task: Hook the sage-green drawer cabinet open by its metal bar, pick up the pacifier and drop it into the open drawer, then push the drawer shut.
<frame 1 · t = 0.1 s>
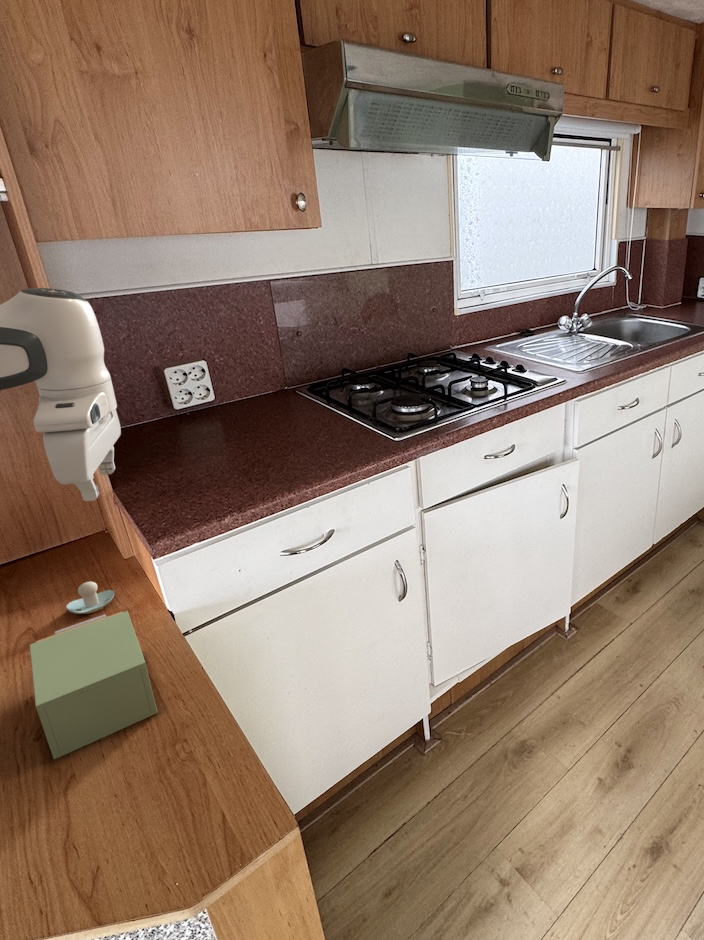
hand: (100, 485, 90), 30 cm above the counter, tool pointing down, fingers open, 8 cm apart
cabinet: (100, 703, 88), on the counter
pacifier: (93, 607, 109), on the counter
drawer: (89, 660, 90), point 5 cm above the counter, slide at 0.5 cm
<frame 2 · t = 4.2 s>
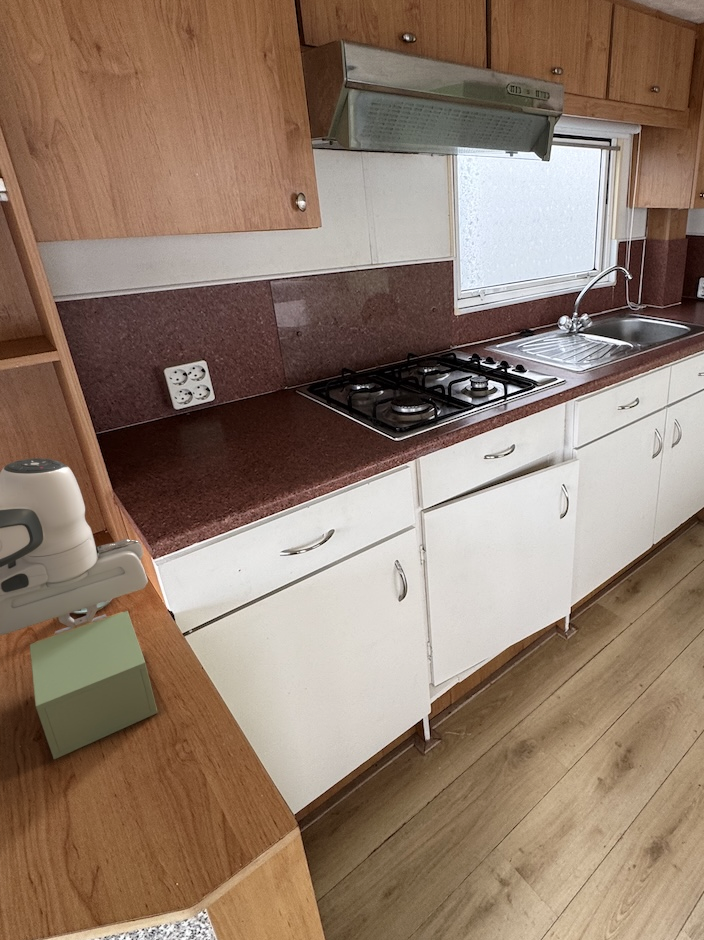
hand: (83, 629, 94), 6 cm above the counter, tool pointing down, fingers closed
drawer: (89, 660, 90), point 5 cm above the counter, slide at 0.5 cm, touching gripper
everything else where it was.
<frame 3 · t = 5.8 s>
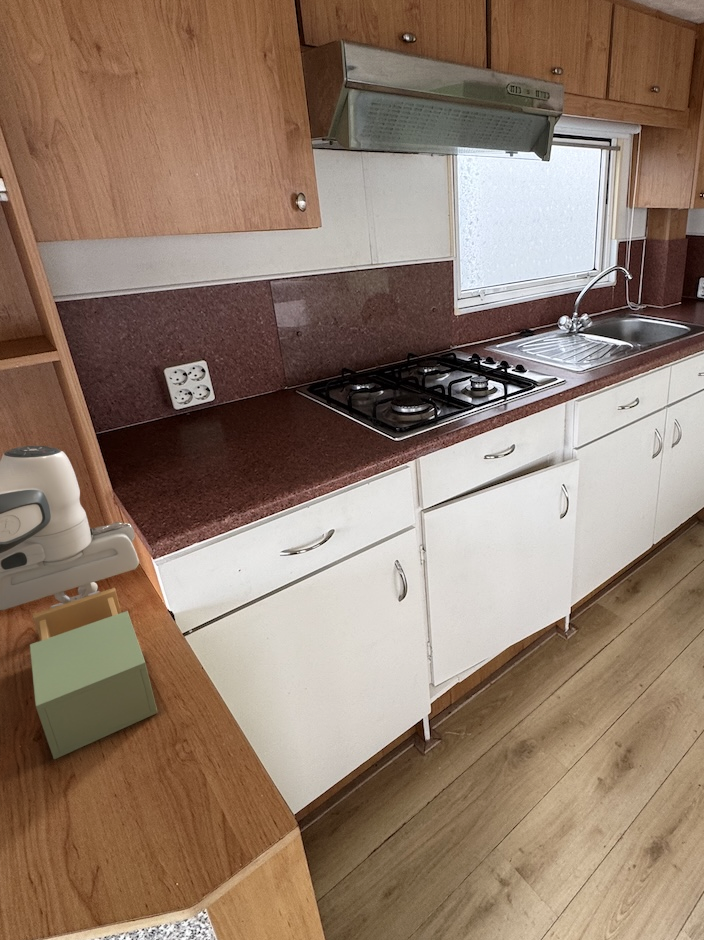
hand: (78, 607, 100), 6 cm above the counter, tool pointing down, fingers closed, pressing on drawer
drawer: (83, 632, 95), point 5 cm above the counter, slide at 8.6 cm, touching gripper
everything else where it was.
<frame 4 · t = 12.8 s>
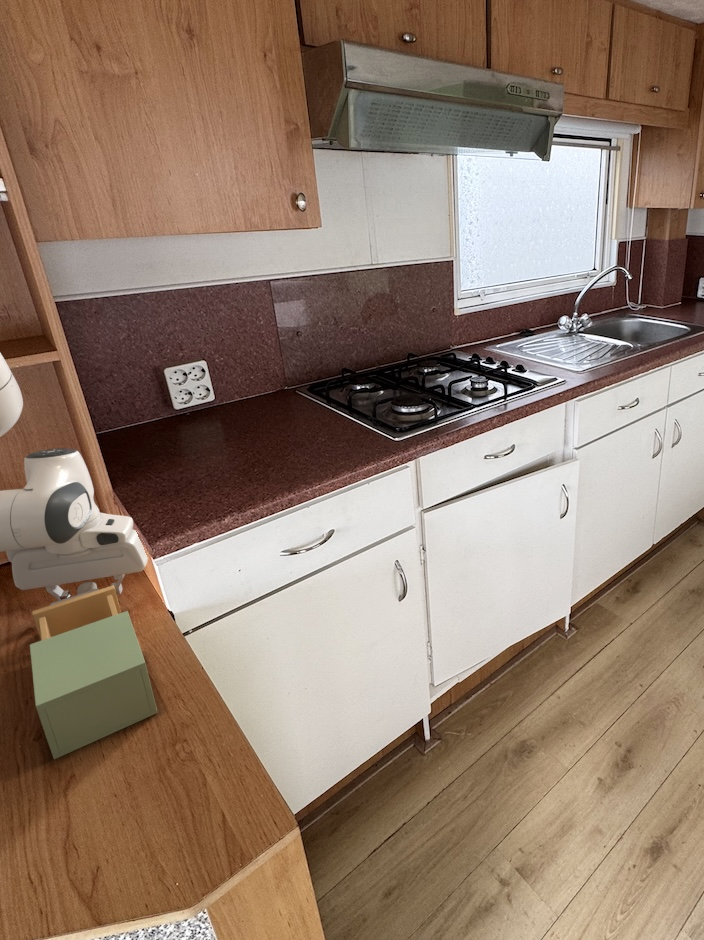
hand: (91, 597, 108), 2 cm above the counter, tool pointing down, fingers closed on pacifier, 7 cm apart
pacifier: (92, 607, 109), on the counter, touching gripper
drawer: (82, 629, 96), point 5 cm above the counter, slide at 9.5 cm
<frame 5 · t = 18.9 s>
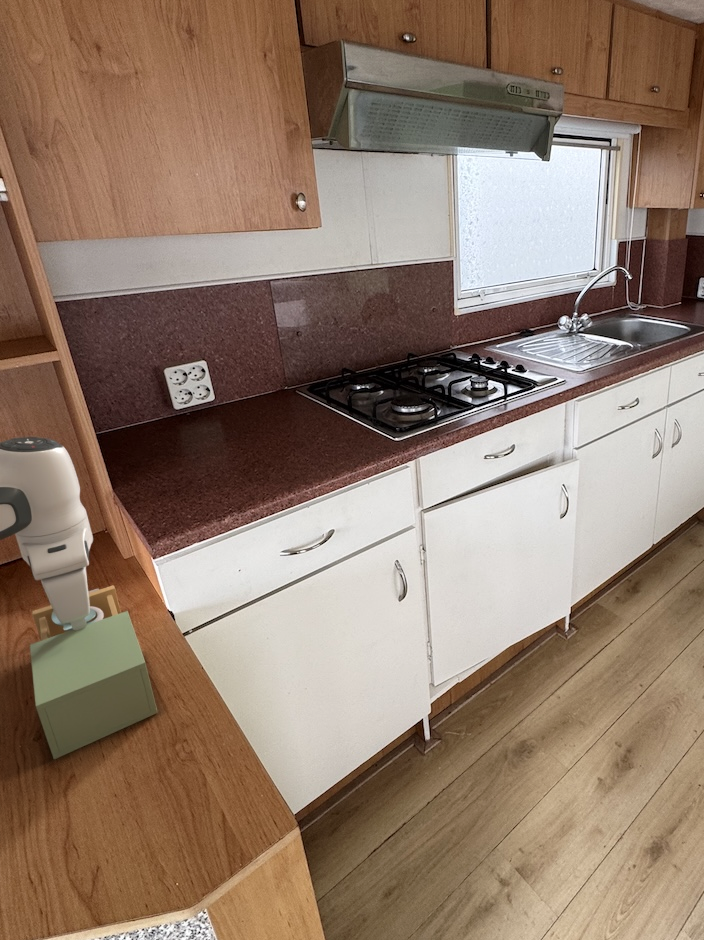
hand: (77, 612, 93), 10 cm above the counter, tool pointing down, fingers closed on pacifier, 7 cm apart
pacifier: (81, 623, 94), point 7 cm above the counter, touching gripper
everything else where it was.
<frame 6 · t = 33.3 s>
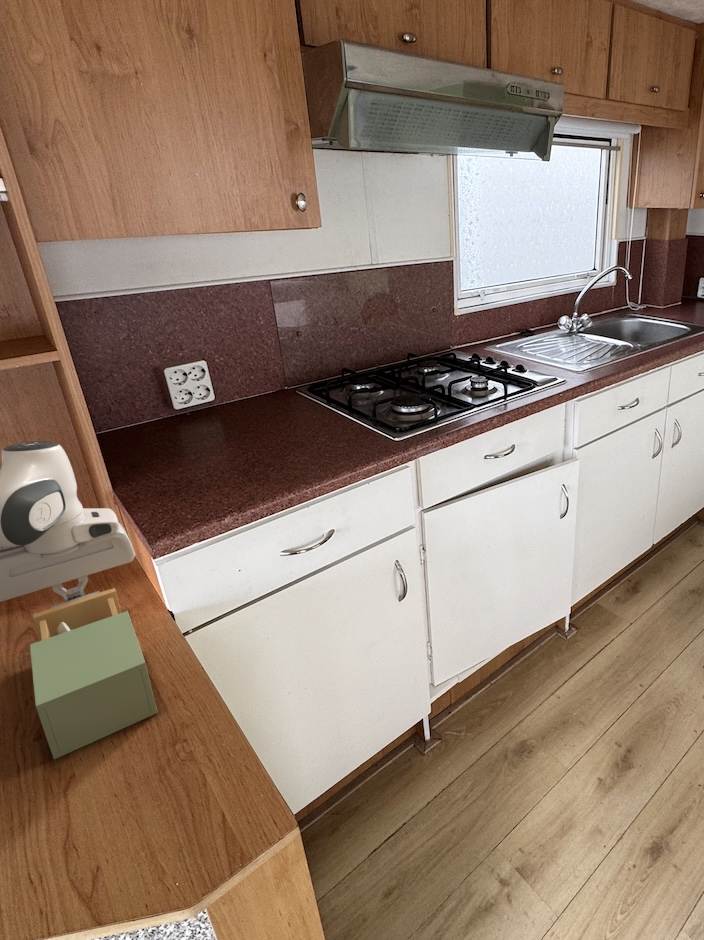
hand: (75, 599, 102), 6 cm above the counter, tool pointing down, fingers closed, pressing on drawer
pacifier: (81, 651, 95), point 2 cm above the counter, touching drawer
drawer: (83, 632, 95), point 5 cm above the counter, slide at 8.5 cm, touching gripper, pacifier
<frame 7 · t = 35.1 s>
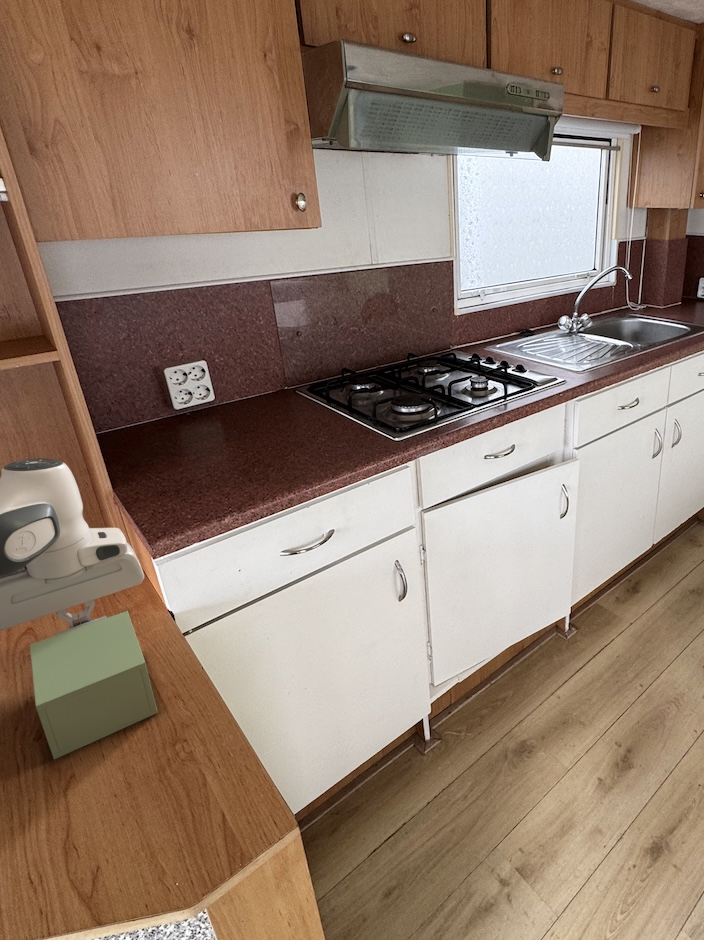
hand: (80, 624, 96), 6 cm above the counter, tool pointing down, fingers closed, pressing on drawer
pacifier: (88, 682, 89), point 2 cm above the counter, touching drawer
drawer: (90, 662, 89), point 5 cm above the counter, slide at 0.0 cm, touching cabinet, gripper, pacifier
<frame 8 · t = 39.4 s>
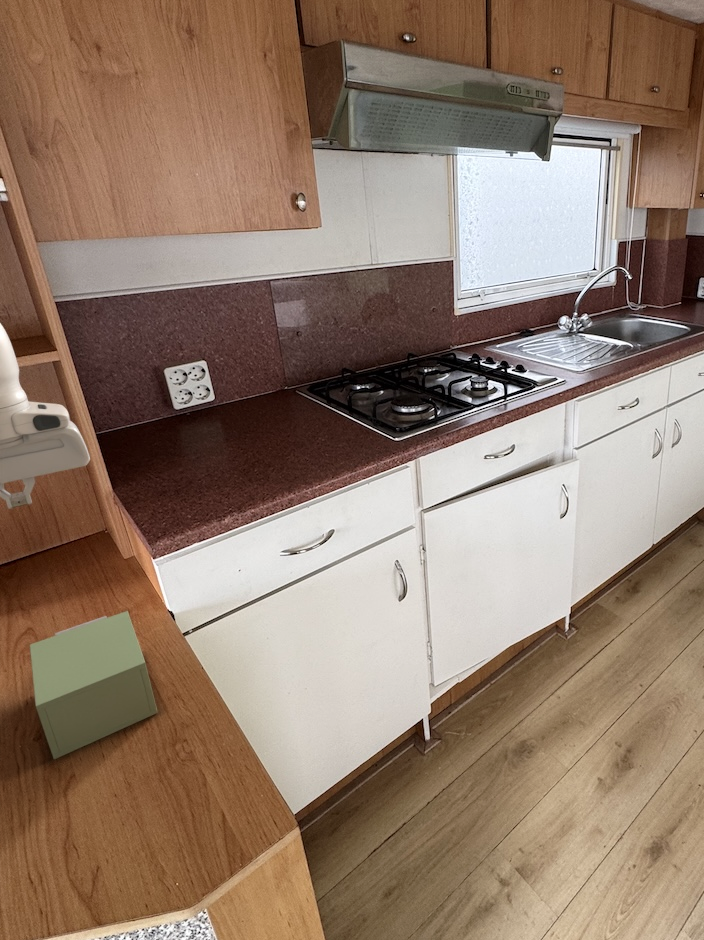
hand: (20, 505, 90), 27 cm above the counter, tool pointing down, fingers closed
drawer: (90, 662, 89), point 5 cm above the counter, slide at 0.0 cm, touching pacifier
everything else where it was.
at the end: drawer pulled out 9.7 cm at the most during the clip, back to where it started at the end; pacifier inside the target area in the cabinet (3.7 cm from its centre), point 1.8 cm above the cabinet's base; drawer slide at 0.0 cm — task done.
